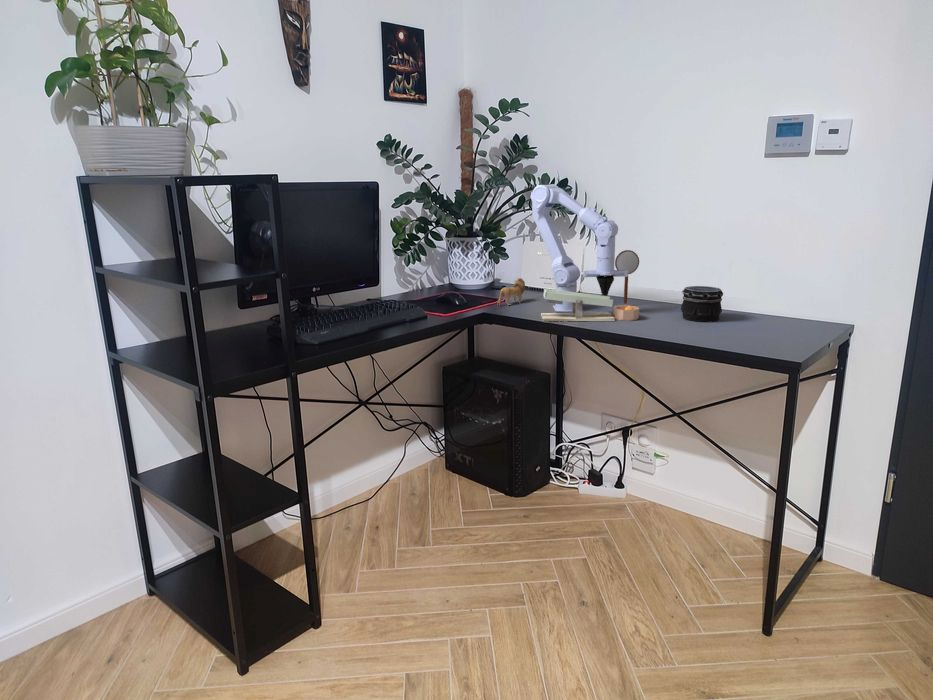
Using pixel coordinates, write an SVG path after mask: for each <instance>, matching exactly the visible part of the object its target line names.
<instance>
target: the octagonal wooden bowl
mask: <svg viewBox="0 0 933 700" xmlns="http://www.w3.org/2000/svg"><path fill="white" fill-rule="evenodd" d="M628 306H631V307H633V308H634V310H624V309H625V308H626V307H628ZM612 316H613V317H614V318H615V321H616V320H617V321H621V320H623V321H625V322H626V321H627V322H628V321H629V322H631V321H637V320H639V318H640V307H638V306H636V305H629V304H628V305H627V304H626V305H615V306H612Z"/></svg>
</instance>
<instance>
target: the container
mask: <svg viewBox="0 0 933 700" xmlns="http://www.w3.org/2000/svg"><path fill="white" fill-rule="evenodd" d="M681 293H682V294H683V296H682V303H681V307H680V311H681V313H682V319H684V320H687V321H691V322H692V321H693V322H702V323H704V322H705V323H709V321H712V322H717V321H719V319H720V315H721V313H722V312H723V309H722V303H721V302H722V300H723V298H722V297H723V296H724V292H723V291H722V289H721V288H719V287H714V286H706V285H705V286H704V285H692V286H686V287H684V288H683V289H682V291H681ZM716 320H717V321H716Z"/></svg>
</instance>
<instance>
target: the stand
mask: <svg viewBox="0 0 933 700" xmlns="http://www.w3.org/2000/svg"><path fill="white" fill-rule="evenodd" d="M540 317H541V320H542V319H543V320H542V322H543V321H559V322H558V323H561V322H560V321H564V322H563V323H568V322H567V321H616V319H615V318H614V317H613V314H612V313H610V312H607V311H605V312H583V300H576V303H574V302H573V304H572V312H549V313H548V312H541V313H540ZM565 321H566V322H565Z"/></svg>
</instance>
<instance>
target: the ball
mask: <svg viewBox="0 0 933 700" xmlns="http://www.w3.org/2000/svg"><path fill="white" fill-rule="evenodd" d="M631 306H632V305H630V306H628V307H626V308H625V309H624V310H634V308H633V307H631Z"/></svg>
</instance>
